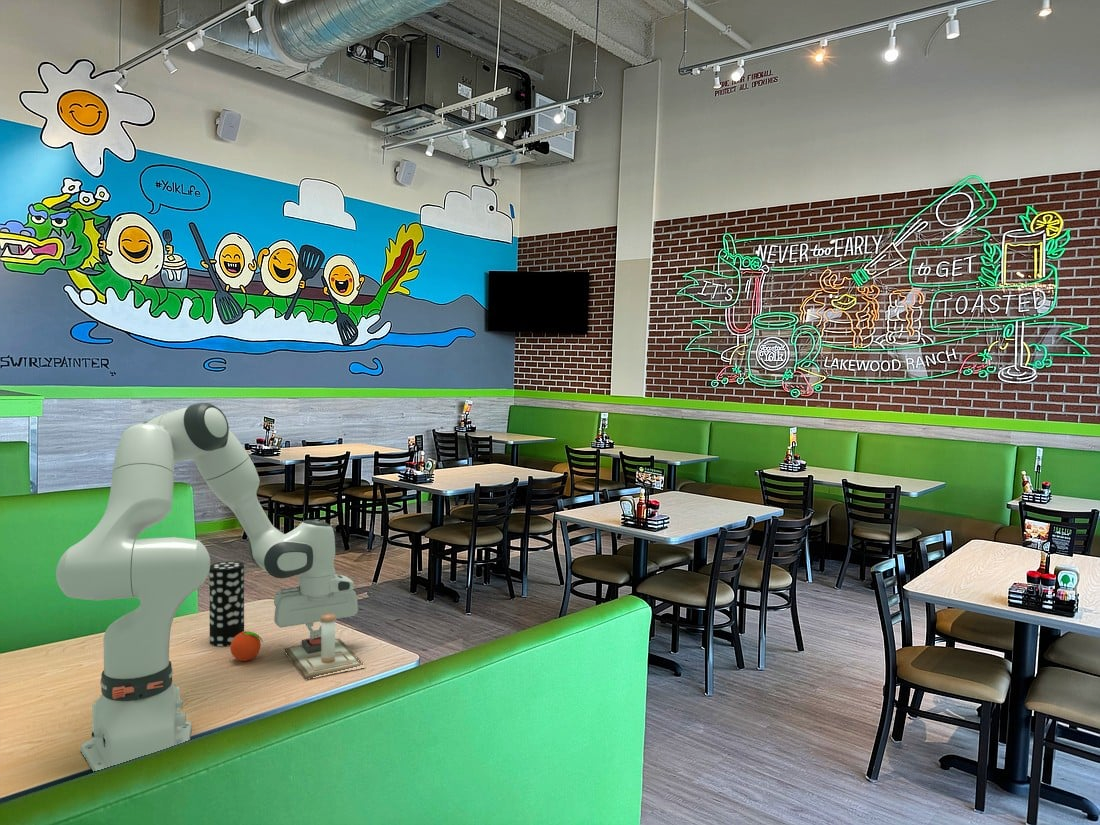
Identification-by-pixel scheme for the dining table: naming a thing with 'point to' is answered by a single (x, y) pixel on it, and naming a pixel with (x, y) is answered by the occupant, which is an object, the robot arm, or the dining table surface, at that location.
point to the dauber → (328, 637)
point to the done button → (314, 641)
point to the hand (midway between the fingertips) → (316, 638)
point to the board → (311, 663)
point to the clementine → (245, 645)
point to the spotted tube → (226, 601)
